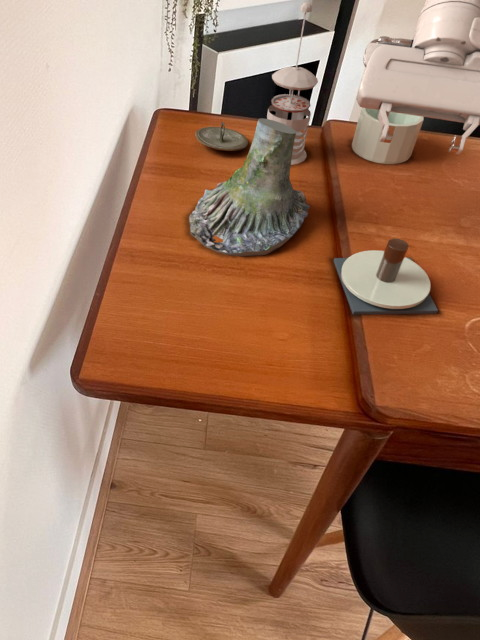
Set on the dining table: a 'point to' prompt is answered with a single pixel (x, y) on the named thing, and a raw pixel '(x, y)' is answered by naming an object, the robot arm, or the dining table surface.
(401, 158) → the basin
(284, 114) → the french press
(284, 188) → the tree stump
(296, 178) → the dining table surface
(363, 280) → the basin lid
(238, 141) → the lid
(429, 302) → the mat
